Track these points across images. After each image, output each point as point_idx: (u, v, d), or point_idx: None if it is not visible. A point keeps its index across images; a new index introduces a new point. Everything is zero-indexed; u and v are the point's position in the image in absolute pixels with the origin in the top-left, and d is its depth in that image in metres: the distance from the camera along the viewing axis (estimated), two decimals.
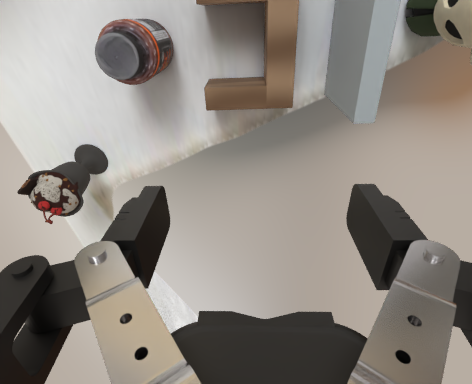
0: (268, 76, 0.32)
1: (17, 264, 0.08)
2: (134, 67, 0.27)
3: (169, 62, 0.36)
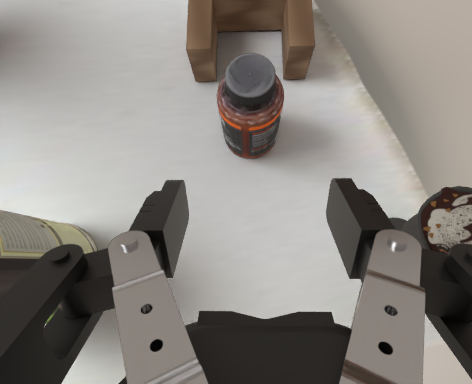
0: None
1: (55, 251, 0.08)
2: (261, 58, 0.23)
3: None
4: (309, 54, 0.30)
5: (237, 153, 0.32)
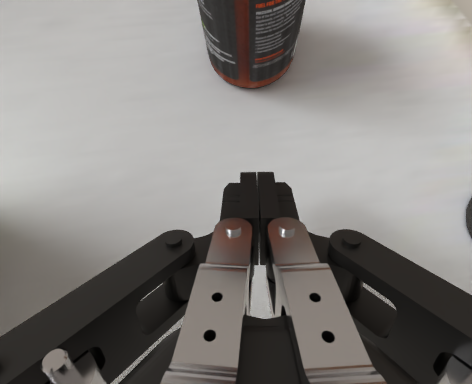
0: None
1: (172, 234, 0.09)
2: None
3: None
4: None
5: (229, 77, 0.19)
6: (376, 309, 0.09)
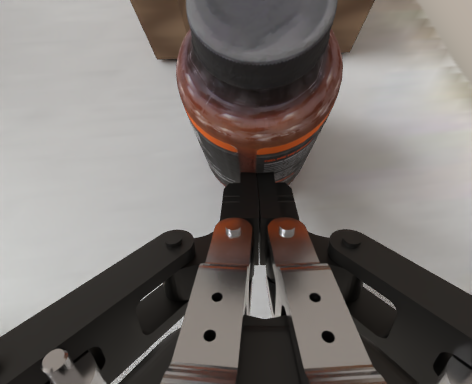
0: None
1: (172, 234, 0.09)
2: None
3: None
4: None
5: None
6: (376, 309, 0.09)
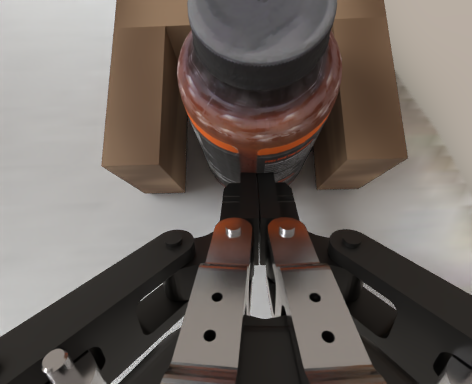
0: None
1: (172, 234, 0.09)
2: None
3: None
4: (386, 167, 0.13)
5: None
6: (376, 309, 0.09)
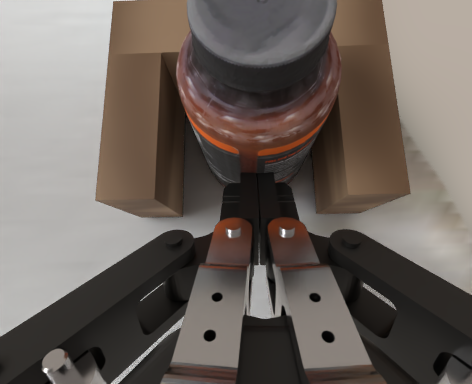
0: None
1: (172, 234, 0.09)
2: None
3: None
4: (388, 199, 0.13)
5: None
6: (376, 309, 0.09)
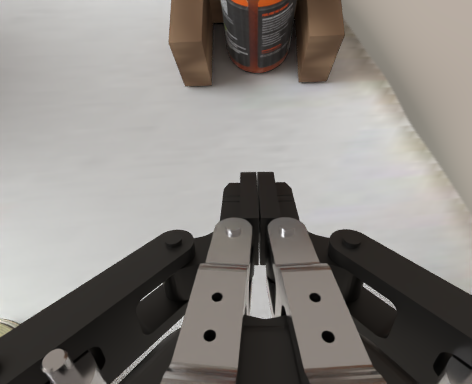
0: None
1: (172, 234, 0.09)
2: None
3: None
4: (336, 47, 0.22)
5: (243, 65, 0.26)
6: (376, 309, 0.09)
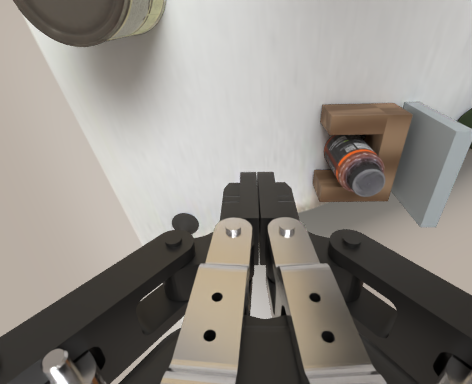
0: None
1: (172, 234, 0.09)
2: (379, 190, 0.36)
3: None
4: (318, 195, 0.45)
5: (328, 142, 0.44)
6: (376, 309, 0.09)
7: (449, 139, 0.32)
